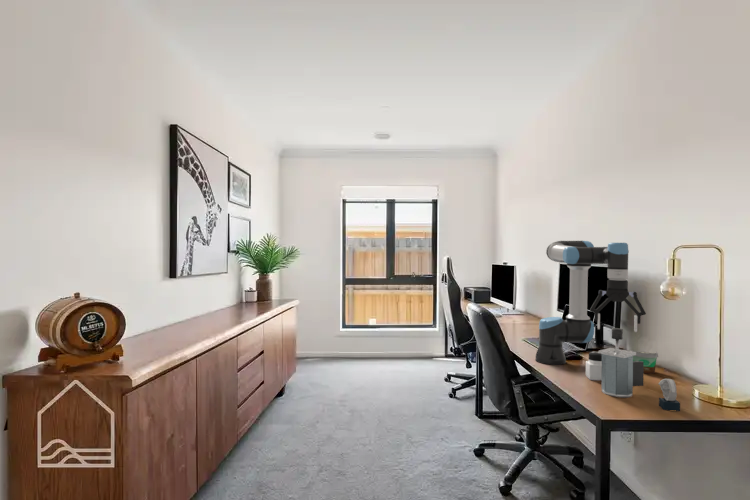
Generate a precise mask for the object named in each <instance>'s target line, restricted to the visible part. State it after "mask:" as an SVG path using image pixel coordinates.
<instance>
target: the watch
mask: <svg viewBox="0 0 750 500" xmlns="http://www.w3.org/2000/svg"><path fill="white" fill-rule="evenodd" d="M658 385H659V386H660V387H659V388H660V390H661V391H662V396H663V398H662V397H658V407H659V408H660V409H662V410H663V411H670V410H676V411H675V412H681V402H680V401H679V400H677V395H678V393H677V385H676V382H675V380H674V379H673V378H672V379H671V378H662V379H661V380H660V381H659V382H658Z"/></svg>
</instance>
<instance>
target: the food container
mask: <svg viewBox="0 0 750 500" xmlns="http://www.w3.org/2000/svg"><path fill="white" fill-rule="evenodd" d="M630 351H632V352H636V355H633V361H642V362H644V373H643V374H646V375H647V374H648V375H649V374H651V375H653V374H655V372H656V365H657V358H659V353H658V351H656V352H649V351H648V352H647V351H634V350H632V349H630Z"/></svg>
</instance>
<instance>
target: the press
mask: <svg viewBox="0 0 750 500" xmlns="http://www.w3.org/2000/svg"><path fill="white" fill-rule="evenodd" d="M615 348H616V347H608V348H603V349H600V350H598V351H597V352H598V353H600V354H602V381H601V386H600V387H601V392H602V393H603V394H605V395H607V396H609V397H614V398H622V399H627V398H632V397H633V392H634V391H633V388H634V387H643V386H644V374H645V373H644V362H642V361H633V355H636V352H637V351H635V352H632V351H633V350H632V351H631V350H626V349H620V348H619V352H615Z"/></svg>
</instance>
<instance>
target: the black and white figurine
mask: <svg viewBox="0 0 750 500" xmlns="http://www.w3.org/2000/svg"><path fill="white" fill-rule="evenodd" d="M585 376H586V378H588V380H590V381H601V382H602V354H600V353H598V351H589V353H588V360H586V361H585Z"/></svg>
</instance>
